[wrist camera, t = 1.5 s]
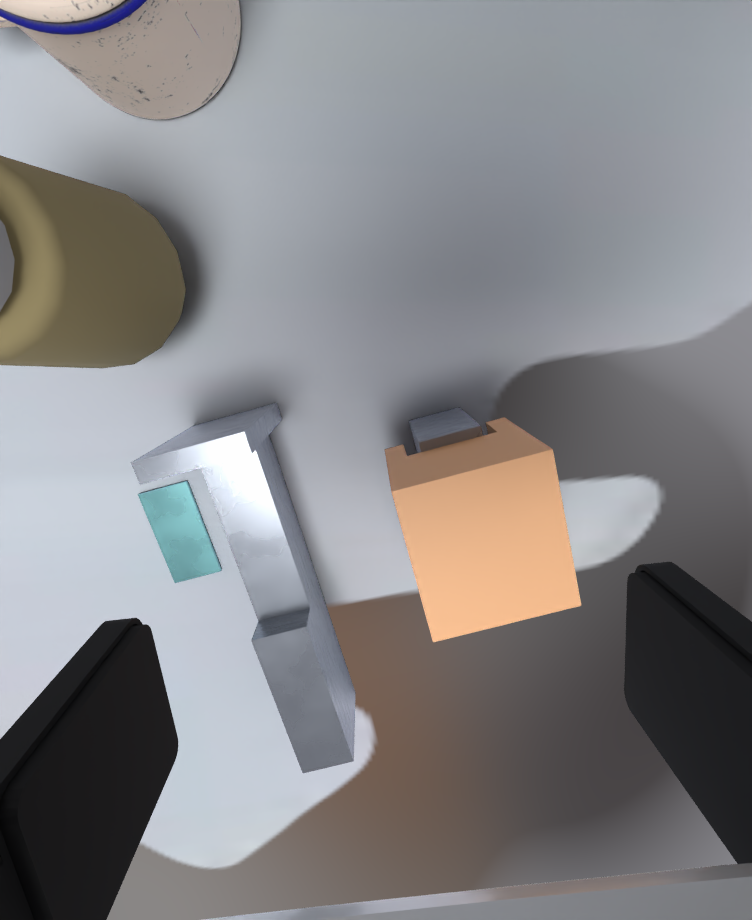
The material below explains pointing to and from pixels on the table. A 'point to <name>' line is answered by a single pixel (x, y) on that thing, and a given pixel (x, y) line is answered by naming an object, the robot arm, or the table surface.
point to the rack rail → (258, 570)
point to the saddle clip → (484, 530)
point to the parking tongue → (443, 429)
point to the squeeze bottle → (81, 273)
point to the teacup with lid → (137, 48)
